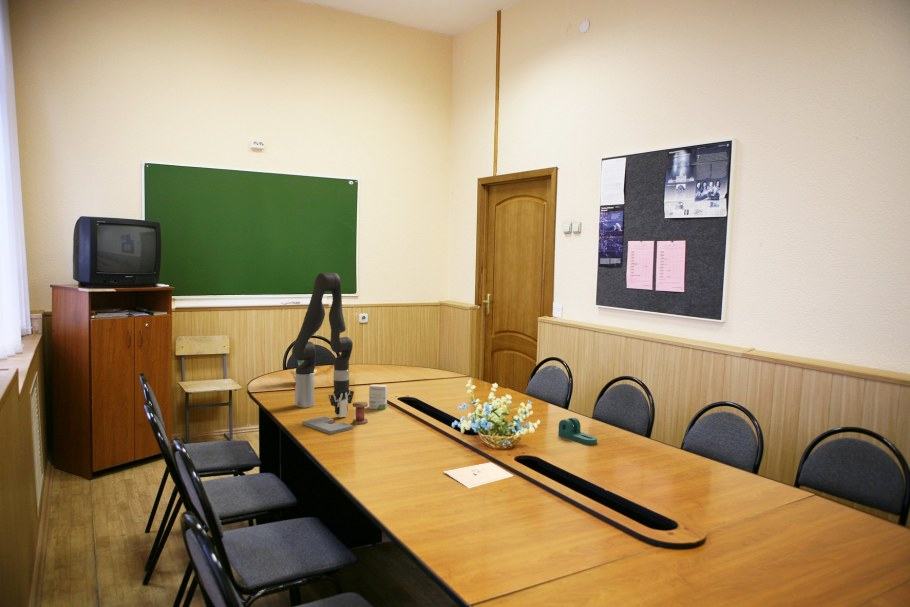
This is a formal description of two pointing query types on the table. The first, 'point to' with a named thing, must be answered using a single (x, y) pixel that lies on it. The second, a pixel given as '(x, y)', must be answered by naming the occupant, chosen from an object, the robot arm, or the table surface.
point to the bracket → (575, 432)
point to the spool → (360, 413)
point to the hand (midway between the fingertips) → (341, 413)
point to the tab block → (342, 408)
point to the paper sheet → (478, 474)
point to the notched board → (327, 425)
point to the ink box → (378, 397)
